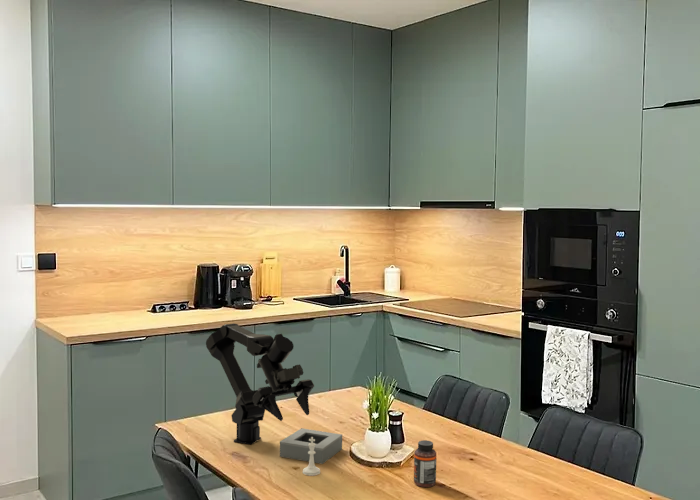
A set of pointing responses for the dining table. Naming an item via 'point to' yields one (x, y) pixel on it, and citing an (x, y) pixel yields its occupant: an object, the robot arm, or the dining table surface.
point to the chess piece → (311, 461)
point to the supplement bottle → (425, 464)
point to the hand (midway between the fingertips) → (295, 417)
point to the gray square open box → (299, 448)
